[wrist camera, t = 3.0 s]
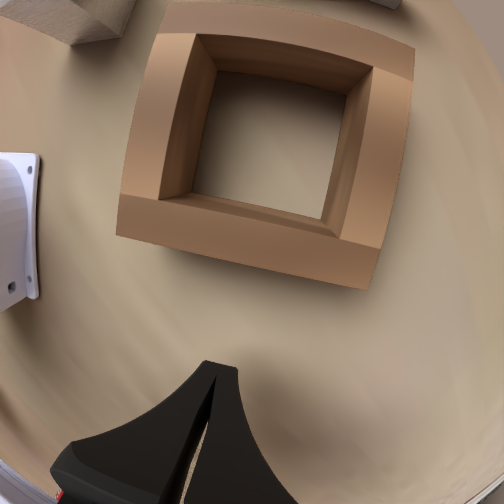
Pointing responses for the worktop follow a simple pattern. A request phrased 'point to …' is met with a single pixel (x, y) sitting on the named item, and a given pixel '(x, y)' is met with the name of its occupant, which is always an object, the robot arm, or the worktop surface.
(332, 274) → the square wooden frame
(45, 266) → the worktop surface
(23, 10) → the grey rectangular block
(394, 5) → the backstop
